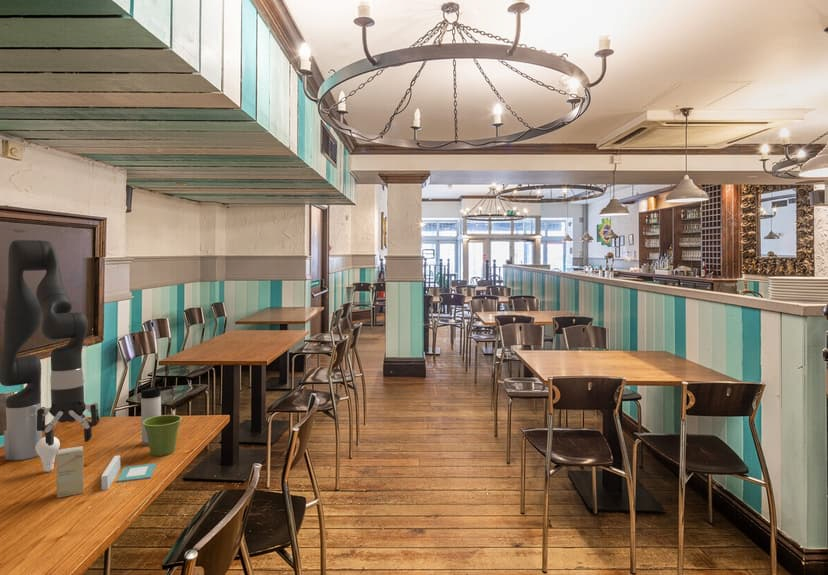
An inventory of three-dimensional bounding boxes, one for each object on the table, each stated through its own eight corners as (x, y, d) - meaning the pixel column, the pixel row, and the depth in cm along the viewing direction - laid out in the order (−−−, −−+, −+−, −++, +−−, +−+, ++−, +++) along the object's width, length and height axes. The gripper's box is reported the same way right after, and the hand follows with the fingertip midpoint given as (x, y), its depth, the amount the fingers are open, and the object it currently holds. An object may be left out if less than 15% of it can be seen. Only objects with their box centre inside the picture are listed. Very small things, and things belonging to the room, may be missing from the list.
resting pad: (116, 482, 148) (116, 480, 148) (124, 468, 158) (124, 466, 158) (150, 478, 151) (150, 476, 151) (156, 464, 161) (156, 462, 161)
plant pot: (138, 460, 164) (137, 426, 164) (148, 448, 176) (148, 415, 175) (178, 457, 167) (177, 423, 166) (185, 445, 179) (184, 413, 178)
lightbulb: (65, 469, 158) (64, 434, 157) (45, 477, 152) (44, 440, 151) (51, 466, 160) (50, 432, 159) (31, 474, 154) (30, 438, 153)
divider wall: (101, 490, 143) (101, 476, 143) (115, 468, 158) (114, 456, 158) (107, 489, 143) (107, 475, 143) (120, 467, 158) (120, 455, 158)
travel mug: (157, 445, 178) (155, 389, 177) (138, 445, 178) (136, 389, 177) (166, 439, 184) (164, 385, 183) (148, 439, 184) (146, 385, 183)
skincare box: (56, 498, 138) (55, 454, 137) (57, 492, 141) (55, 449, 141) (84, 492, 141) (83, 450, 141) (84, 487, 145) (83, 445, 144)
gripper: (31, 390, 134) (33, 450, 135) (93, 385, 139) (95, 444, 139) (41, 384, 141) (43, 441, 142) (100, 380, 146) (102, 435, 146)
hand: (69, 442), depth 141 cm, fingers open, 8 cm apart
